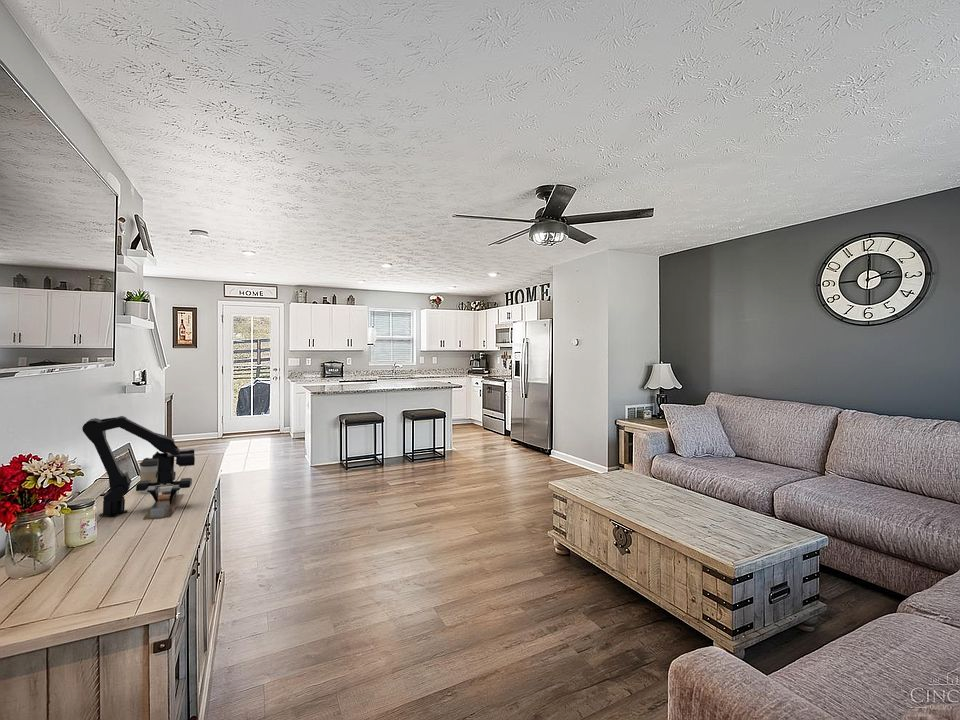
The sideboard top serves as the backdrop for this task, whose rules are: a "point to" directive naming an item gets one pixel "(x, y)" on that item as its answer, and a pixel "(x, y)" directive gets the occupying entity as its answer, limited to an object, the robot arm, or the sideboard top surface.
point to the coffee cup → (148, 470)
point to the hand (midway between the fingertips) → (164, 504)
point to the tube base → (164, 506)
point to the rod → (164, 498)
